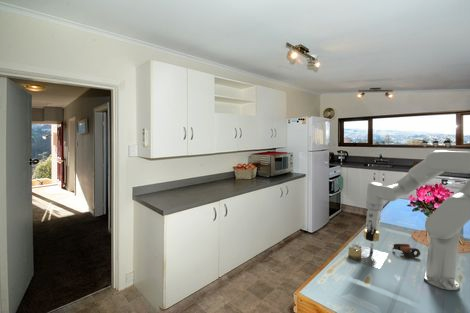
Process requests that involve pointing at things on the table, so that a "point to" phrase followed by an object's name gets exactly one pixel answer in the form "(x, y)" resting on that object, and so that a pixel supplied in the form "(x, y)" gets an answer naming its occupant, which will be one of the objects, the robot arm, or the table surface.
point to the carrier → (367, 255)
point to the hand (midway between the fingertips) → (371, 237)
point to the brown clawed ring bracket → (406, 250)
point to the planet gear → (375, 236)
